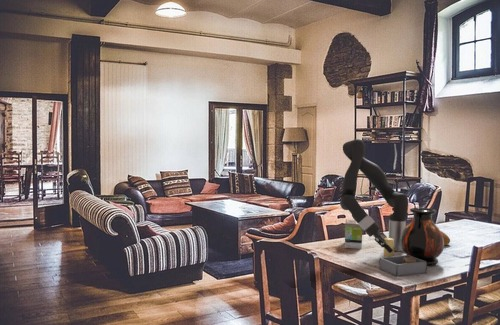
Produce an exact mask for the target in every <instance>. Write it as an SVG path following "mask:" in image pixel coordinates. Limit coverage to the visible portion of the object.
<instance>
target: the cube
mask: <svg viewBox="0 0 500 325" xmlns="http://www.w3.org/2000/svg"><path fill="white" fill-rule="evenodd" d="M406 263H416V260H415V259H414V258H403V264H406Z"/></svg>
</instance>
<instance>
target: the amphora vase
mask: <svg viewBox="0 0 500 325" xmlns="http://www.w3.org/2000/svg"><path fill="white" fill-rule="evenodd" d="M409 212H410V213H412V214H413V218H412V220H411V221H410V222H409V223H408V224H406V225H407V226H406V227H405V228H404V230H403V232H402V235H401V248H402V250H403V251H402V252H403V253H404V254H405V255H410V256H413V257H415V258H418V259H421V260H423V261H426V262H427V267H428V266H429V267H430V266H436V265H437V264H438V263H439V260H438V257H439V256H440V255H441V254H442V253H443V251H444V248H445V245H444V239H443V236H442V233H441V230H440V228H439V227H438V225H436V224H435V222H434V221H433V218H432V217H433V215H435V214H436V213H437V210H436V209H434V208H433V209H432V208H428V207H412V208H410V209H409Z"/></svg>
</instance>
